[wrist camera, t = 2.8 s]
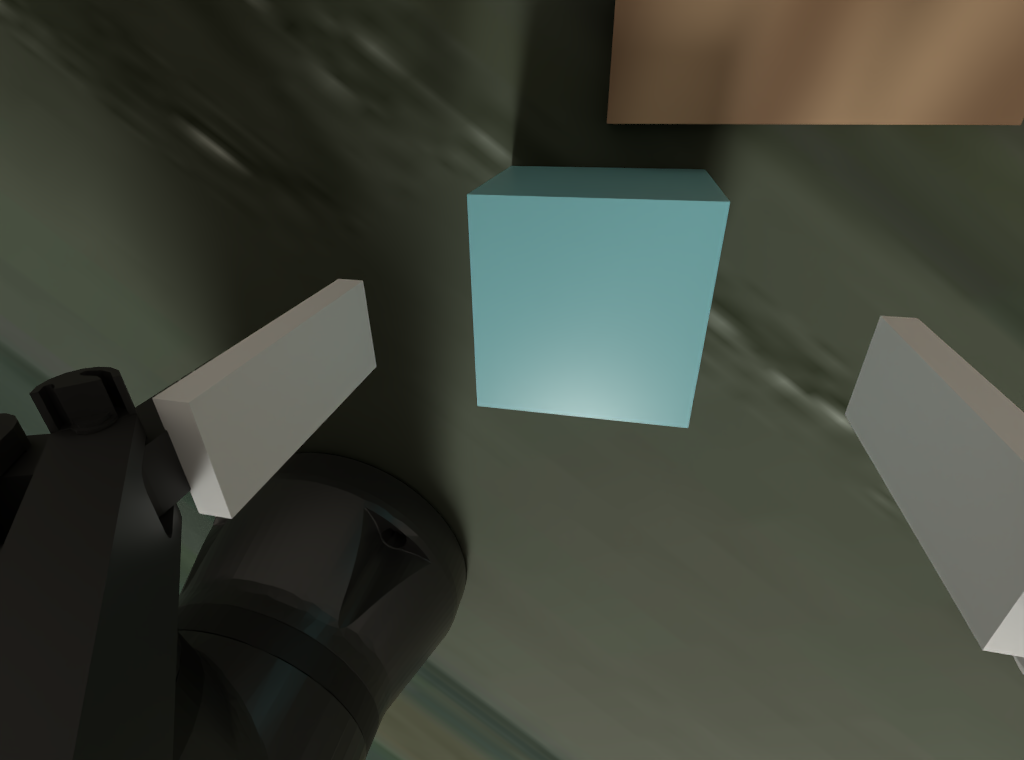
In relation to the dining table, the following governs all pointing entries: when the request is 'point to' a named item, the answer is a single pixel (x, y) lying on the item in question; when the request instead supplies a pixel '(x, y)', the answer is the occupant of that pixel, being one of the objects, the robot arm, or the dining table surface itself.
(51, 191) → the dining table surface
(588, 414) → the teal block
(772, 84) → the wooden peg stand
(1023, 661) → the water bottle
